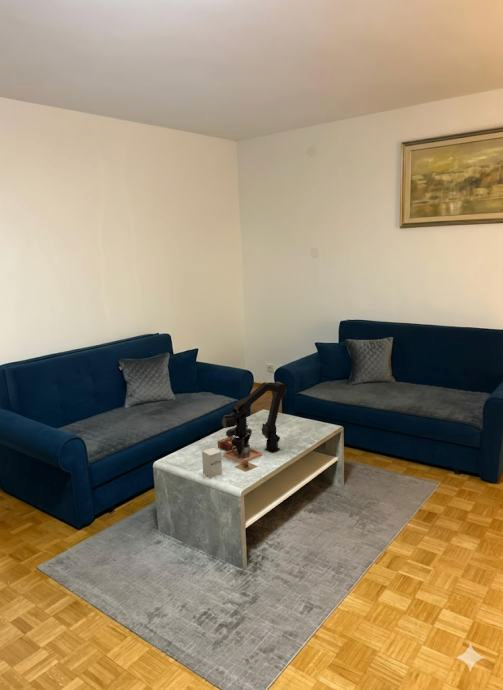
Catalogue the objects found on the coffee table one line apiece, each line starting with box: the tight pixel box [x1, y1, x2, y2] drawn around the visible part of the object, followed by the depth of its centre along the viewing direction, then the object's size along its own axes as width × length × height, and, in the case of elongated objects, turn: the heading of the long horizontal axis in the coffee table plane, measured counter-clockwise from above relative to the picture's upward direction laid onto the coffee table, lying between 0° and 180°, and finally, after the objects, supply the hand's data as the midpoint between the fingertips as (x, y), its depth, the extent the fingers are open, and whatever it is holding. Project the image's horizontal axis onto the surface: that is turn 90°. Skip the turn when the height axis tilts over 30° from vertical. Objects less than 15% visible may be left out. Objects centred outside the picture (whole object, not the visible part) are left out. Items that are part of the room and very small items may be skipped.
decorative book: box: [217, 435, 250, 453], centre depth 288 cm, size 11×16×5 cm
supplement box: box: [201, 447, 223, 479], centre depth 255 cm, size 7×7×13 cm
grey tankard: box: [234, 443, 251, 459], centre depth 276 cm, size 9×7×6 cm
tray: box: [222, 447, 263, 464], centre depth 276 cm, size 15×15×2 cm
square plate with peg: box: [234, 460, 258, 473], centre depth 262 cm, size 9×9×4 cm
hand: (242, 451), depth 275 cm, fingers open, 9 cm apart
